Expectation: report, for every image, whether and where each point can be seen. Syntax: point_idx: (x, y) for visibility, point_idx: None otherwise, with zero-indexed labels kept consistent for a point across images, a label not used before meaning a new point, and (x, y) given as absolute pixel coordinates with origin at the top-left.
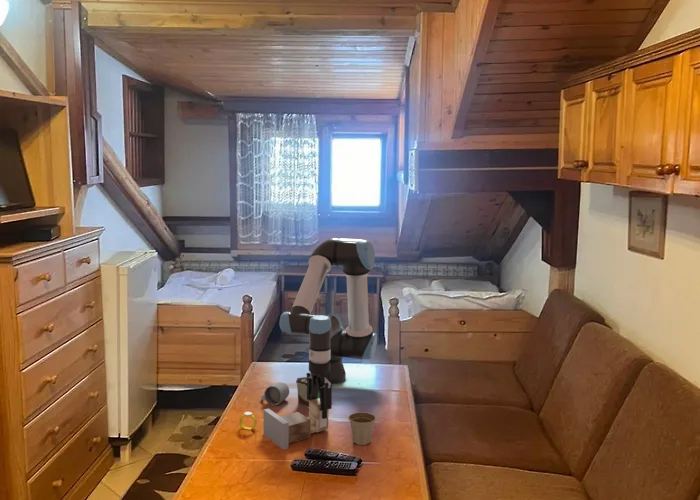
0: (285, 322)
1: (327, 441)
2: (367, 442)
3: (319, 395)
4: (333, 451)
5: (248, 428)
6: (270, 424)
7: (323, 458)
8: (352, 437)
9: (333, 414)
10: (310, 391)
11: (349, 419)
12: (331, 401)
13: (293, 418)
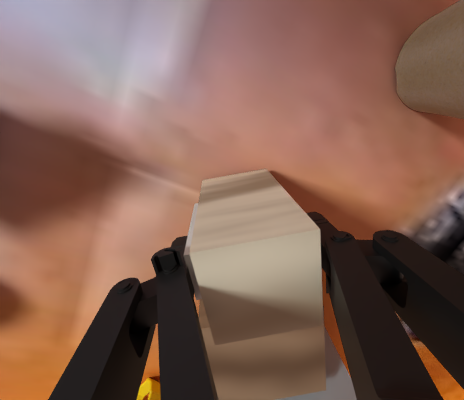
0: None
1: (348, 205)
2: None
3: (356, 383)
4: (426, 215)
5: (149, 388)
6: None
7: (442, 259)
8: (431, 112)
9: (78, 52)
10: (132, 376)
11: None
12: (453, 268)
13: (266, 359)
